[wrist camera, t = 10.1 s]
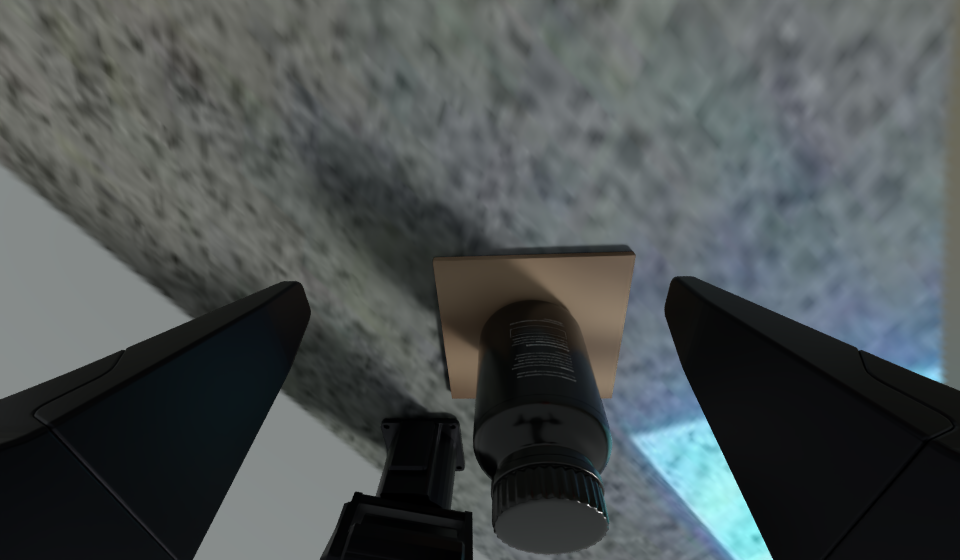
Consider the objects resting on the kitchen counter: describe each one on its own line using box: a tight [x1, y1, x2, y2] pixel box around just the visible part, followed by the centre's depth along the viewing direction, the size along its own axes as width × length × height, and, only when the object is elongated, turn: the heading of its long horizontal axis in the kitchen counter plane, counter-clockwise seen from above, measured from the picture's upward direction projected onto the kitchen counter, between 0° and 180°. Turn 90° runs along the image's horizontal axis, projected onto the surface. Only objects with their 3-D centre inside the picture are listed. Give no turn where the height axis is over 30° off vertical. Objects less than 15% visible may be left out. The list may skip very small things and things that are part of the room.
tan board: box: [433, 251, 636, 398], centre depth 26 cm, size 12×12×1 cm
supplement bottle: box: [473, 300, 612, 555], centre depth 21 cm, size 7×7×12 cm
